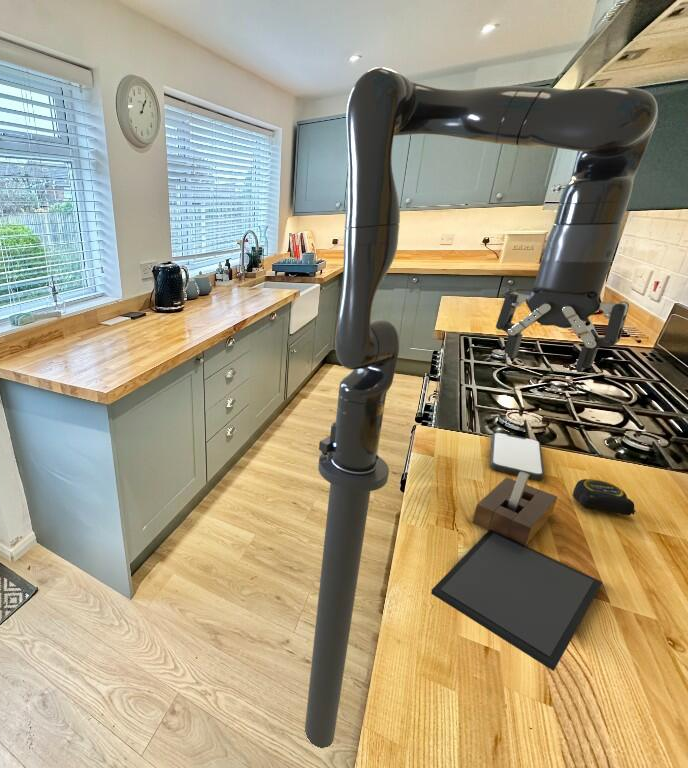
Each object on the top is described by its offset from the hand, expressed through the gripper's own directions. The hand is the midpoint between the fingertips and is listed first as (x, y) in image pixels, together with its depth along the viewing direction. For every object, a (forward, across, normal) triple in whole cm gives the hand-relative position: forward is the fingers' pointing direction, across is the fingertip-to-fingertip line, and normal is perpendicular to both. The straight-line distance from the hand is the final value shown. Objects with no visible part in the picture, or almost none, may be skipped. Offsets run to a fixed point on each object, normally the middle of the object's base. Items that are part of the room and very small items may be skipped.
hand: (543, 363), depth 66 cm
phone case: (+28, +5, -21) cm, 36 cm away
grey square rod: (+28, -2, +4) cm, 29 cm away
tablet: (+28, -9, +19) cm, 35 cm away
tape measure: (+28, -11, -13) cm, 33 cm away
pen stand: (+28, -2, +2) cm, 28 cm away
